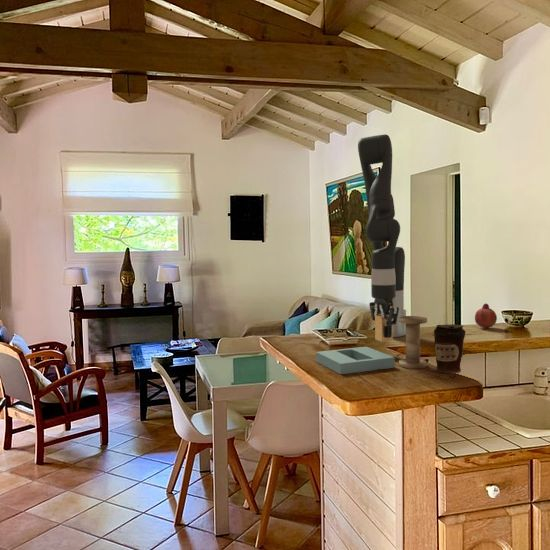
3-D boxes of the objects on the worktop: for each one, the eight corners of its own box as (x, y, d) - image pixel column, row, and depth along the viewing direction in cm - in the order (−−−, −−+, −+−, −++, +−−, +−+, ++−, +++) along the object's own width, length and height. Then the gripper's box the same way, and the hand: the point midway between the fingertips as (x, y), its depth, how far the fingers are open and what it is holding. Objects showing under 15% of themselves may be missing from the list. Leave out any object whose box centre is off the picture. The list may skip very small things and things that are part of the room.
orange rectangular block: (385, 338, 174) (385, 313, 173) (392, 340, 171) (392, 315, 170) (375, 339, 173) (374, 314, 172) (382, 341, 169) (381, 316, 168)
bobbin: (416, 360, 163) (416, 315, 162) (432, 366, 156) (432, 319, 155) (393, 363, 160) (393, 317, 159) (409, 369, 153) (409, 321, 152)
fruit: (470, 327, 215) (470, 302, 214) (488, 326, 217) (488, 301, 216) (482, 331, 207) (483, 305, 207) (501, 329, 209) (501, 304, 209)
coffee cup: (460, 377, 145) (461, 329, 144) (429, 373, 149) (429, 327, 148) (467, 369, 152) (468, 324, 151) (438, 366, 156) (438, 322, 155)
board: (366, 355, 171) (366, 346, 171) (394, 367, 156) (394, 357, 156) (316, 361, 165) (316, 352, 165) (340, 374, 150) (340, 363, 150)
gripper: (406, 284, 165) (407, 339, 166) (381, 279, 178) (381, 330, 180) (385, 285, 162) (386, 341, 164) (361, 281, 175) (362, 333, 177)
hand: (383, 335), depth 172 cm, fingers closed on orange rectangular block, 4 cm apart
